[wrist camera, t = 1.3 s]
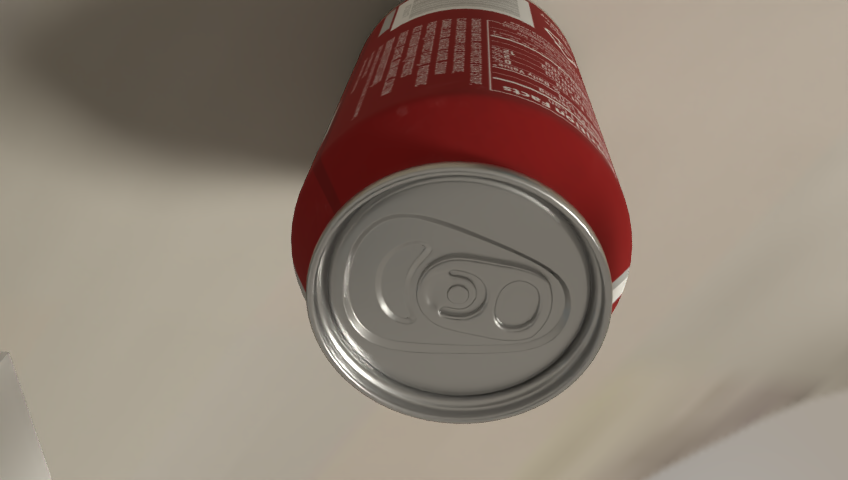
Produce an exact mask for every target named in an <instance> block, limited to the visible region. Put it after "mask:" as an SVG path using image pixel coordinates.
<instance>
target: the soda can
mask: <svg viewBox="0 0 848 480" xmlns="http://www.w3.org/2000/svg"><path fill="white" fill-rule="evenodd" d="M291 245H292V258H293V264H294V269H295V273H296V277H297V280H298V284H299V286H300V289H301V291H302V294H303V296H304V298H305V300H306V304H307V311H308V317H309V320H310V324H311V328H312V330H313V333H314V336H315V338H316V340H317V342H318V344H319V346H320V348H321V350H322V352H323V353H324V355H325V356H326V358H327V359H328V361H329V362H330V363H331V364H332V366H333V367H334V368H335V369H336V371H337V372H338V373H339V374H340V375H341V376H342V377H343V378H344V379H345V380H346V381H347V382H348V383H350V384H351V385H352V386H353V387H354V388H356V389H357V390H358V391H360V392H361V393H363V394H364V395H365V396H367V397H369V398H370V399H372V400H374V401H375V402H377V403H379V404H381V405H383V406H385V407H387V408H389V409H391V410H394V411H397V412H399V413H402V414H405V415H408V416H411V417H415V418H419V419H423V420H428V421H434V422H441V423H454V424H471V423H483V422H490V421H496V420H501V419H505V418H509V417H512V416H516V415H519V414H522V413H524V412H527V411H529V410H532V409H534V408H536V407H538V406H540V405H542V404H544V403H546V402H548V401H549V400H551V399H553V398H554V397H556V396H557V395H559V394H560V393H561V392H563V391H564V390H565V389H567V388H568V387H569V386H570V385H571V384H573V383H574V382H575V381H576V380H577V379H578V378H579V377H580V376H581V375H582V374H583V372H584V371H585V370H586V369H587V368H588V366H589V365H590V364H591V362H592V361H593V360H594V358H595V356H596V355H597V353H598V351H599V349H600V348H601V345H602V343H603V341H604V339H605V336H606V333H607V330H608V327H609V323H610V318H611V314H612V313H613V311H614V309H615V307H616V306H617V304H618V301H619V299H620V297H621V295H622V292H623V290H624V287H625V284H626V281H627V277H628V273H629V268H630V263H631V253H632V231H631V224H630V217H629V213H628V209H627V205H626V202H625V198H624V195H623V193H622V190H621V187H620V184H619V181H618V179H617V176H616V173H615V170H614V167H613V165H612V162H611V159H610V156H609V153H608V151H607V148H606V145H605V142H604V139H603V137H602V134H601V131H600V128H599V125H598V123H597V120H596V117H595V114H594V111H593V108H592V106H591V103H590V100H589V97H588V94H587V92H586V89H585V86H584V83H583V80H582V78H581V75H580V72H579V69H578V66H577V64H576V61H575V58H574V55H573V53H572V50H571V48H570V46H569V44H568V42H567V40H566V38H565V36H564V35H563V33H562V32H561V30H560V29H559V27H558V26H557V25H556V24H555V22H554V21H553V20H552V19H551V18H550V17H549V16H548V15H547V14H546V13H545V12H544V11H543V10H542V9H541V8H539V7H538V6H537V5H536V4H534V3H533V2H531V1H530V0H404V1H403V2H401V3H400V4H399V5H397V6H396V7H395V8H393V9H392V10H391V11H390V12H389V13H388V14H387V15H386V16H385V17H384V18H383V19H382V20H381V21H380V22H379V23H378V24H377V26H376V27H375V28H374V30H373V31H372V33H371V34H370V36H369V37H368V39H367V41H366V43H365V45H364V47H363V49H362V51H361V54H360V56H359V58H358V61H357V63H356V65H355V67H354V70H353V72H352V74H351V77H350V79H349V81H348V83H347V86H346V88H345V90H344V93H343V95H342V97H341V99H340V102H339V104H338V106H337V109H336V111H335V113H334V115H333V118H332V120H331V122H330V125H329V127H328V129H327V132H326V134H325V136H324V138H323V141H322V143H321V145H320V148H319V150H318V152H317V154H316V157H315V159H314V161H313V164H312V166H311V168H310V170H309V173H308V175H307V177H306V180H305V182H304V184H303V186H302V189H301V191H300V194H299V197H298V200H297V203H296V207H295V211H294V217H293V222H292V234H291Z"/></svg>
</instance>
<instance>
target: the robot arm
mask: <svg viewBox="0 0 848 480" xmlns="http://www.w3.org/2000/svg"><path fill="white" fill-rule="evenodd" d="M0 480H52V478H51V475H50V472H49V469H48V466H47V463H46V460H45V458H44V455H43V452H42V449H41V446H40V443H39V440H38V437H37V434H36V431H35V428H34V425H33V422H32V419H31V416H30V413H29V410H28V407H27V404H26V401H25V398H24V395H23V392H22V389H21V386H20V383H19V380H18V377H17V374H16V371H15V368H14V365H13V362H12V359H11V356H10V353H9V352H0Z"/></svg>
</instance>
